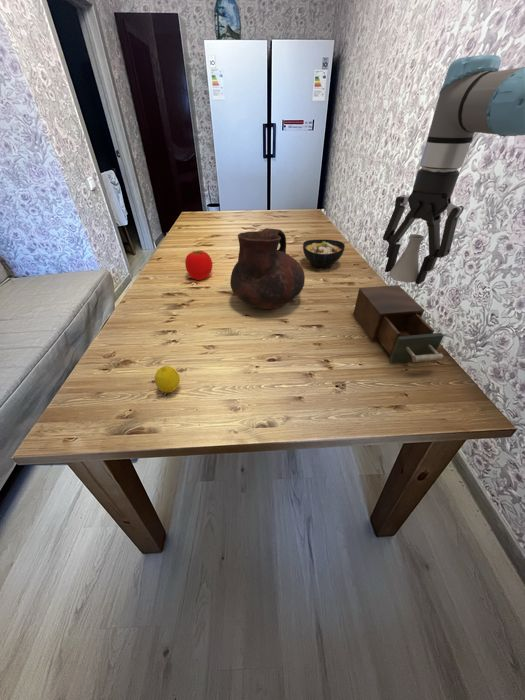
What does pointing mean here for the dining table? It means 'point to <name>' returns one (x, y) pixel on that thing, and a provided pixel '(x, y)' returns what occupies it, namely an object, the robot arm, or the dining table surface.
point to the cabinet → (382, 306)
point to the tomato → (198, 264)
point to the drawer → (409, 338)
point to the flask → (408, 261)
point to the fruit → (167, 379)
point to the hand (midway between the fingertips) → (403, 276)
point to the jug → (265, 270)
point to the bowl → (323, 252)
